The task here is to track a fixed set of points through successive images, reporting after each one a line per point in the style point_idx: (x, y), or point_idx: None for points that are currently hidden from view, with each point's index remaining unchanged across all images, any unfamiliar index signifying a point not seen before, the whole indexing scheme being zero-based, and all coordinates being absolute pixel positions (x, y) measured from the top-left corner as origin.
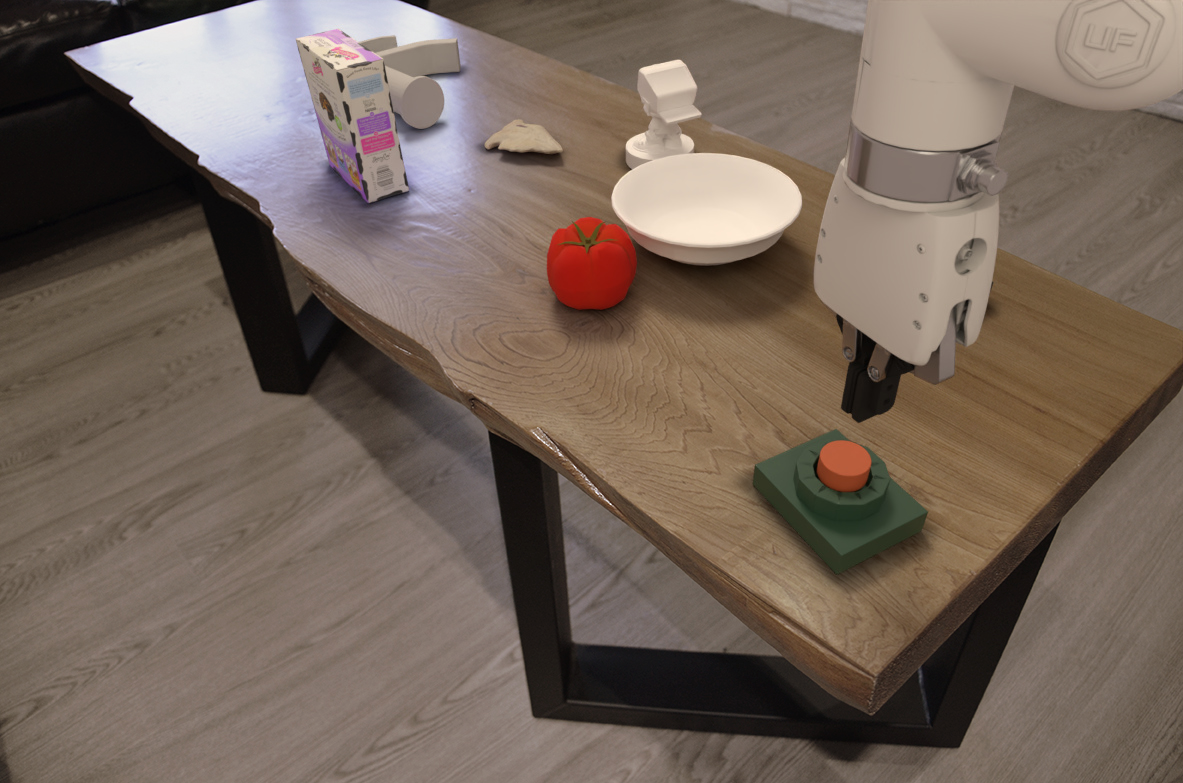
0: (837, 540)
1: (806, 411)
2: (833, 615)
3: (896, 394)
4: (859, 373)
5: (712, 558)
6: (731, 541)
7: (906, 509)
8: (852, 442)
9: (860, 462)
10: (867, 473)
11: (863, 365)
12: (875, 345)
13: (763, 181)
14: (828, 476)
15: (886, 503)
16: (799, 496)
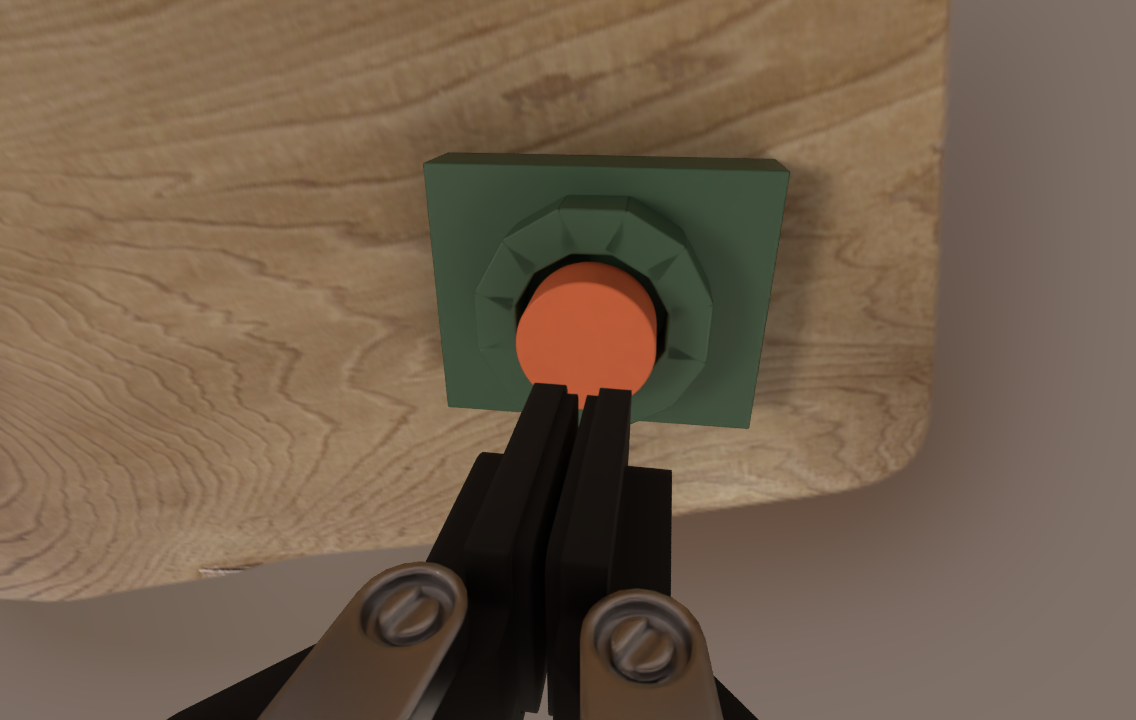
0: (713, 409)
1: (306, 116)
2: (800, 454)
3: (671, 509)
4: (540, 695)
5: None
6: None
7: (748, 218)
8: (546, 293)
9: (620, 329)
10: (653, 325)
11: (517, 692)
12: (458, 703)
13: None
14: None
15: (702, 246)
16: None
